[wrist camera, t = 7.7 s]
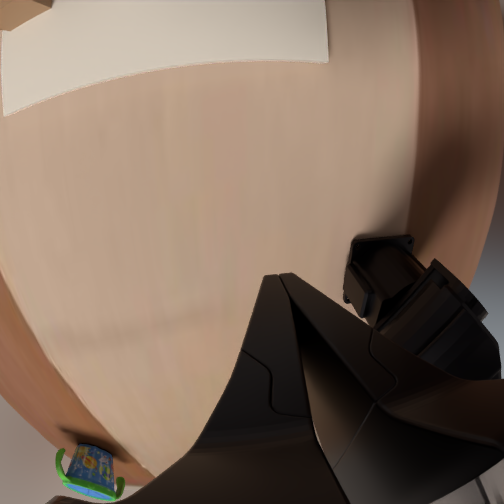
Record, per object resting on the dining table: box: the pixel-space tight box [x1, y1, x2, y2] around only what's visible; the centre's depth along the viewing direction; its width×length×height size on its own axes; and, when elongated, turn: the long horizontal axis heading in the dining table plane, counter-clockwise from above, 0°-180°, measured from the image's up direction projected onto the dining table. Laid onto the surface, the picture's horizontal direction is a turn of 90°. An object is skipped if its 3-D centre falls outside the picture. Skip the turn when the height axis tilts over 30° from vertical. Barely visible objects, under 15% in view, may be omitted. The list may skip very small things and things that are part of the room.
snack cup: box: [56, 444, 125, 501], centre depth 36 cm, size 16×10×10 cm
